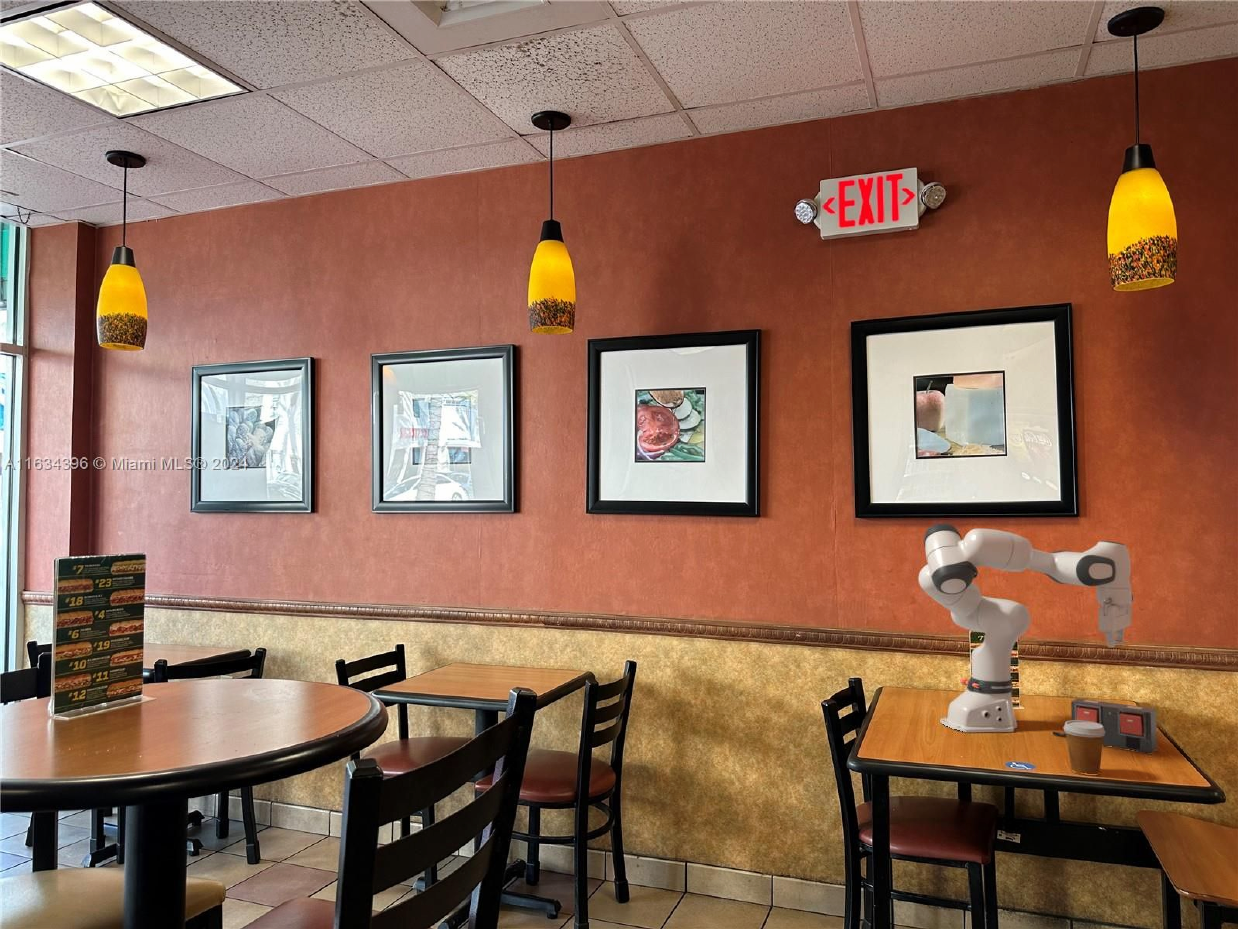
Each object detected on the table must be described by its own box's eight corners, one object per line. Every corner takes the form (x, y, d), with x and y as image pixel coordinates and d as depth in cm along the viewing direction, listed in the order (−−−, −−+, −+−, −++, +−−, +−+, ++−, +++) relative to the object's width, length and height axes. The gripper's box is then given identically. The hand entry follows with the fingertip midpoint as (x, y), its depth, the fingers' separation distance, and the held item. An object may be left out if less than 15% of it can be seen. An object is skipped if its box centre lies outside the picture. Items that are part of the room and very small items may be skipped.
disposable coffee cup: (1105, 780, 216) (1104, 731, 217) (1062, 774, 221) (1061, 726, 222) (1107, 770, 224) (1106, 722, 225) (1066, 764, 229) (1065, 718, 230)
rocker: (1097, 728, 245) (1097, 710, 247) (1095, 728, 245) (1096, 710, 246) (1077, 725, 249) (1078, 707, 250) (1076, 725, 248) (1077, 707, 249)
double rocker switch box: (1157, 749, 242) (1155, 708, 242) (1151, 755, 237) (1149, 712, 237) (1056, 733, 260) (1055, 694, 260) (1049, 737, 255) (1048, 698, 255)
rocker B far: (1142, 733, 239) (1141, 716, 238) (1141, 735, 238) (1139, 718, 237) (1122, 730, 242) (1120, 713, 242) (1120, 732, 241) (1119, 715, 241)
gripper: (1116, 601, 243) (1117, 651, 243) (1135, 595, 258) (1136, 642, 258) (1091, 599, 248) (1092, 648, 247) (1111, 593, 263) (1112, 640, 262)
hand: (1115, 645), depth 253 cm, fingers open, 7 cm apart
